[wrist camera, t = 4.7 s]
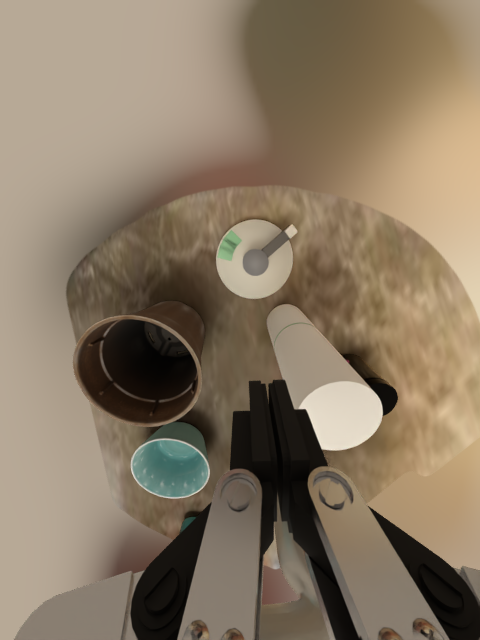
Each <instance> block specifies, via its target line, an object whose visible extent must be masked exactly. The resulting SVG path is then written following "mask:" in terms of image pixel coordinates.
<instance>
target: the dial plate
mask: <svg viewBox="0 0 480 640" xmlns="http://www.w3.org/2000/svg"><path fill="white" fill-rule="evenodd" d="M281 232H282V230H281V229H280V228H278V227H277V226H276V225H274V224H272V223H270V222H267V221H264V220H256V219H254V220H247V221H243V222H241V223H238V224H237V225H235V226H233V227H232V228H231V229H230V230H229V231H228V232H227V233H226V234H225V235H224V237H223V238H222V240H221V242H220V244H219V246H218V250H217V255H216V265H217V270H218V273H219V276H220V278H221V280H222V282H223V283H224V284H225V286H226V287H227V288H228V289H229V290H230V291H232V292H233V293H235V294H236V295H239V296H241V297H244V298H249V299H259V298H264V297H267V296H269V295H271V294H273V293H275V292H276V291H278V290H279V289H280V288H281V287H282V286H283V285H284V283H285V282H286V281H287V279H288V277H289V275H290V272H291V269H292V265H293V252H292V248H291V244H290V242H289V240H288V241H287V242H285V243H284V244H283V245H282V246H281V247H280V248H279V249H277V250H276V251H275V252H274V253H273V254H272V255H271V256H269V257H268V260H269V265H268V268H267V270H266V271H265V272H264V273H263V274H261V275H259V276H252V275H249V274H248V273H247V272H246V271H245V270H244V268H243V257H244V255H245V253H246V252H247V251H249V250H251V249H259V250H262V249H263V248H264V247H265V246H266V245H267V244H268V243H270V242H271V241H272V240H273V239H274V238H275V237H276V236H277V235H278V234H280V233H281Z"/></svg>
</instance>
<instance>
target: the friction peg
mask: <svg viewBox="0 0 480 640" xmlns="http://www.w3.org/2000/svg"><path fill="white" fill-rule="evenodd" d="M297 232H298V231H297V230H296V228H295V227H294V226H293V224H291V225H289V226H287V227H286V228H285V229H284V230H283V231H282V232H281V233H280V234H278V235H277V236H276V237H275V238H274V239H273V240H272V241H271V242H270V243H268V244H267V245H266V246H265V247H264V248H263V249H262V250H259V249H251V250H249V251H247V252H246V253H245V255H244V257H243V268H244V270H245V271H246V272H247V273H248V274H249V275H252V276H259V275H261V274H263V273H264V272H265V271H266V270H267V268H268V265H269V260H268V257H269V256H271V255H272V254H273V253H274V252H275V251H276V250H277V249H279V248H280V247H281V246H282V245H283V244H284V243H285V242H287V241H288V240H289V239H290V238H291V237H293V236H294V235H295V234H296V233H297Z"/></svg>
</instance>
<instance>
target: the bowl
mask: <svg viewBox="0 0 480 640" xmlns="http://www.w3.org/2000/svg"><path fill="white" fill-rule="evenodd" d="M131 471H132V474H133V476H134V478H135V479H136V481H137V482H138V483H139V485H140V486H142V487H143V488H144V489H145V490H147V491H148V492H150V493H152V494H155V495H158V496H161V497H165V498H184V497H188V496H191V495H193V494H195V493H197V492H199V491H200V490H201V489H202V488H203V487H204V486H205V485H206V483H207V481H208V479H209V475H210V467H209V461H208V456H207V451H206V446H205V442H204V438H203V436H202V434H201V433H200V431H199V430H198V429H196V428H195V427H194V426H192V425H190V424H187V423H184V422H172V423H168V424H166V425H164V426H162V427H161V428H160V429H158V430H157V431H156V432H155V433H154V434H153V435H151V436H150V437H149V438H148V439H147V440H146V441H145V442H144V443H143V444H142V445H141V446H140V447H139V448H138V449H137V450H136V451H135V452H134V454H133V456H132V459H131Z"/></svg>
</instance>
